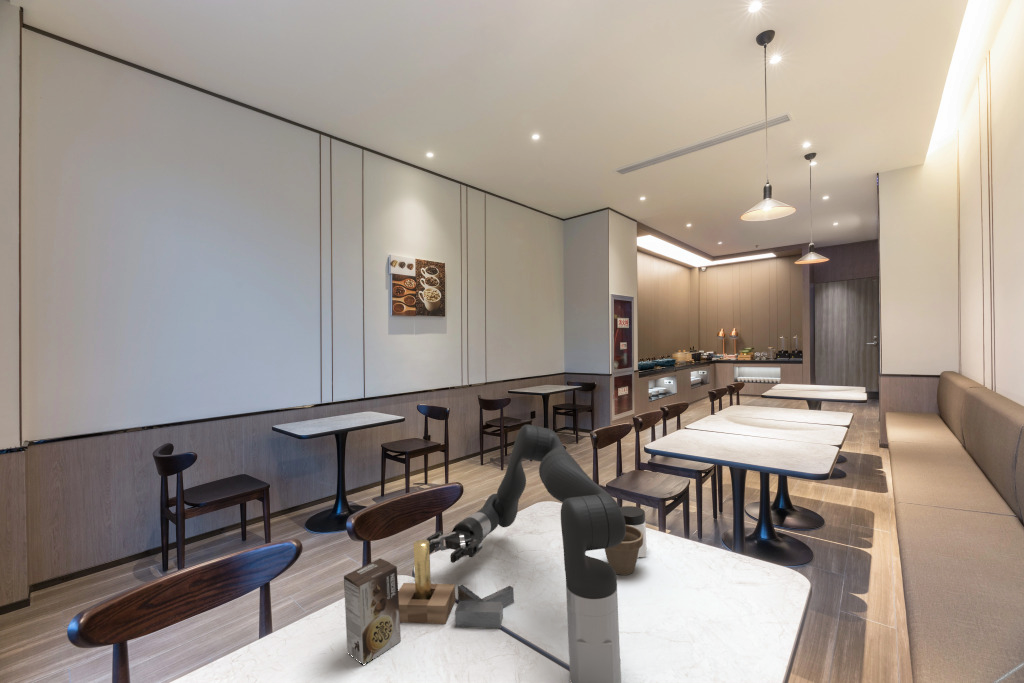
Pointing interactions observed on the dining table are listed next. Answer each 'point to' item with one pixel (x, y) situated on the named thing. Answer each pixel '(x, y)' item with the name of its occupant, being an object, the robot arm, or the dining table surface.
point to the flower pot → (625, 552)
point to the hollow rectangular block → (426, 604)
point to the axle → (422, 570)
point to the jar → (636, 524)
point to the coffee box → (372, 610)
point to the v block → (482, 608)
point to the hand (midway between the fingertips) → (437, 555)
